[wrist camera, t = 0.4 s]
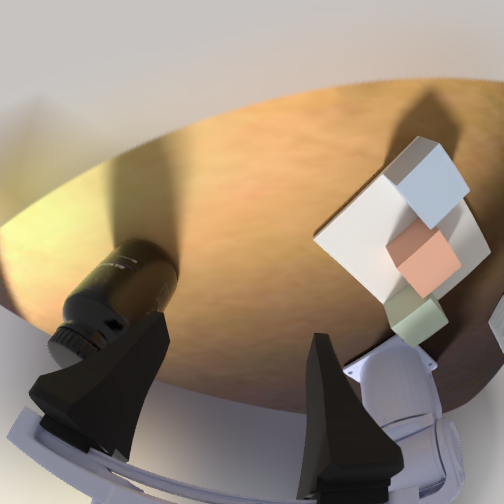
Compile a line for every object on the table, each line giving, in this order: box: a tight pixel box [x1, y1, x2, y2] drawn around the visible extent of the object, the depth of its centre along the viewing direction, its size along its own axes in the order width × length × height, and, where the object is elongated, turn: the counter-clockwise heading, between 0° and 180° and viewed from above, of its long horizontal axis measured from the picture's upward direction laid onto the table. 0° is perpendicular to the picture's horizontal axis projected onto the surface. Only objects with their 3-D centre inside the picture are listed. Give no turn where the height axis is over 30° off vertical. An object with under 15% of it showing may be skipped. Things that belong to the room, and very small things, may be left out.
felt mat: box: [313, 136, 491, 304], centre depth 19 cm, size 13×11×1 cm
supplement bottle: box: [47, 240, 177, 369], centre depth 20 cm, size 7×7×12 cm
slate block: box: [383, 136, 470, 230], centre depth 15 cm, size 4×4×3 cm
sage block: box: [383, 284, 449, 348], centre depth 21 cm, size 4×4×3 cm
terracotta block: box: [386, 217, 462, 299], centre depth 18 cm, size 4×4×3 cm
